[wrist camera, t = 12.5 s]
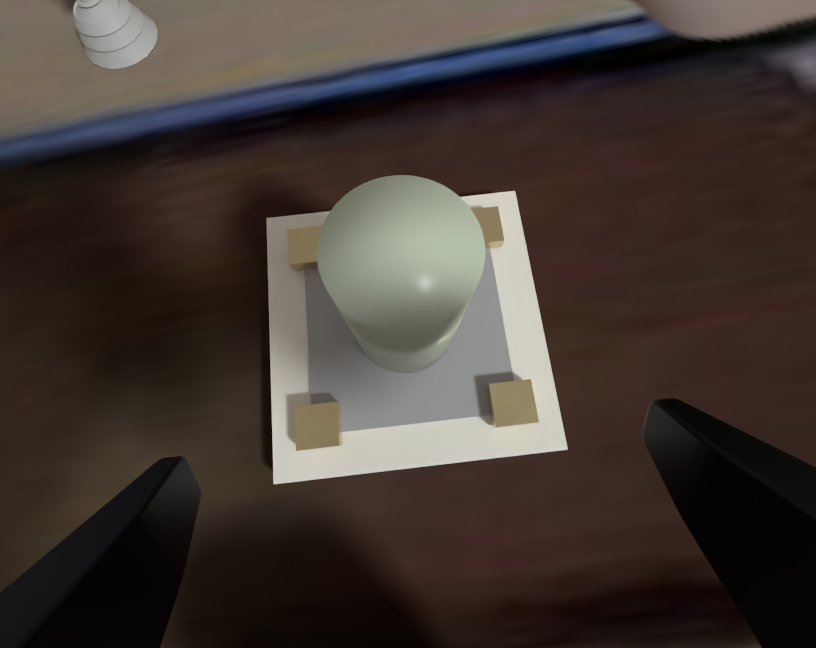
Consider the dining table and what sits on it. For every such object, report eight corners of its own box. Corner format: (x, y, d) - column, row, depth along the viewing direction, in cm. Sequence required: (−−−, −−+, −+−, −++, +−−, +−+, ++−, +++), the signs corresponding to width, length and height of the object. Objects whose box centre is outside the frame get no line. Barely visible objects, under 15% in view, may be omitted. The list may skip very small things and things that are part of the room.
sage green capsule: (376, 388, 20) (350, 357, 11) (342, 298, 21) (294, 207, 12) (469, 351, 20) (513, 293, 12) (431, 264, 22) (445, 154, 13)
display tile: (557, 448, 21) (575, 450, 18) (283, 480, 21) (266, 487, 18) (509, 205, 24) (519, 180, 22) (275, 231, 24) (259, 208, 22)
